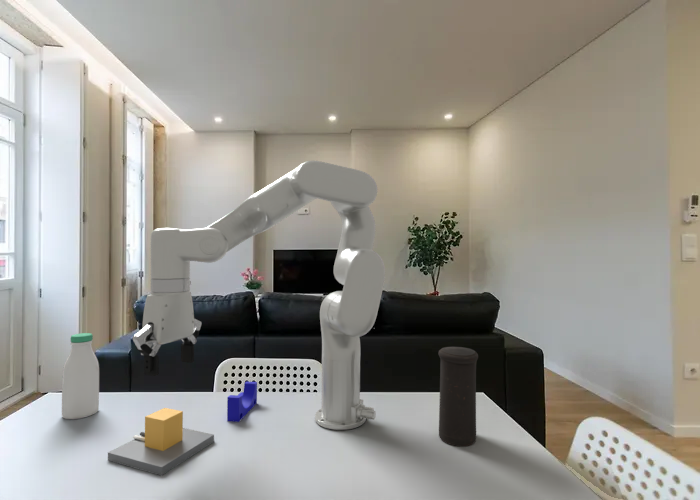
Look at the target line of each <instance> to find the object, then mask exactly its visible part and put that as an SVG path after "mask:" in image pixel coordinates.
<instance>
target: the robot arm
mask: <svg viewBox="0 0 700 500" xmlns="http://www.w3.org/2000/svg"><path fill="white" fill-rule="evenodd" d="M376 182H377V181H376V180H375V179H374V178H373V177H372V175H370V174H369V173H367V172H365V171H363V170H360V169H356V168H355V169H354V168H352V167H351V168H350V167H347V166H342V165H337V164H334V163H330V162H324V161H319V160H307V161H304V162H303V163H301V164H299V165H298V166H297V167H295V168H294V169H293V170H291V171H289V172H288V173H286V174H284V175H283V176H281V177H280V178H278V179H276V180H275V181H274V182H272V183H270V184H268V185H267V186H265V187H263V188H262V189H260V190H259V191H257V192H255V193H253V194H252V195H250V196H249V197H248V198H246V199H245V200H243V202H241V204H240V205H238V206H237V207H235V208H234V209H233V210H232V211H230V212H229V213H227V214H226V215H224V216H222V218H220V219H218V220H217V221H215V222H213V223H211V224H210V225H208V226H207V227H202V228H200V227H199V228H192V229H184V228H178V227H177V228H176V227H175V228H173V227H160V228H155V229H154V230H152V231H151V233H150V294H147V296H146V299H145V303H144V308H143V316H142V327H141V329H140V330H139V331H138V332H136V333H135V334H134V335H133V336H132V341H133V343H134V344H135V346H136V350H138V352H139V353H140V355H141V356H143V374H144V375H145V376H152V377H157V376H158V375H159V373H160V372H159V371H160V369H159V368H160V367H159V366H160V365H159V362H160V361H159V360H160V359H159V357H160V356H159V355H157V353H158V352H159V349H160V348H161V346H162V345H165V344H169V343H173V342H178V341H182V343H181V344H180V361H181V362H182V363H189V364H192V363H195V344H196V343H197V341H198V340H197V338H198V337H199V335H200V330H201V327H202V321H200V320H198V319H196V318H195V314H194V313H195V312H194V302H193V298H192V293H191V291H190V290H191V287H190V286H191V285H192V284H191V283H192V282H191V280H190V279H191V278H190V277H191V276H190V275H191V272H190V271H191V269H190V267H191V264H190V262H198V263H207V264H213V263H216V262H218V261H220V260H222V259H223V258H224V257H225V255H226V254H227V253H228V252H229V251H231V250H233V249H234V248H236V247H238V246H239V245H241V244H242V243H243V242H245V241H247V240H249V239H251V238H252V237H254V236H256V235H258V234H261V233H263V232H265V231H267V230H270V229H271V228H273V227H274V226H275V227H276V225H278V224H279V223H280V222H282V221H284V220H285V219H287V218H288V217H290V216H292V215H293V214H294V213H296V212H298V211H300V210H301V209H302V208H304V207H305V206H306V205H308V204H309V203H311V202H313V201H314V200H317V199H319V200H323V201H326V202H330V204H331V205H332V207H333V208H334V209H335V211H336V212H337V213H338V215H339V217H340V219H341V234H340V238H339V239H340V240H339V244H338V246H337V247H338V248H337V253H336V256H335V260H334V265H333V276H334V279H335V280H336V281H337V282H338V283H339V284H341V285H342V286H343V288H342V290H336V291H333V292H330V293H329V294H327V295H326V296H325V297H324V299H323V300H322V302H321V303H320V304H321V305H320V308H319V309H320V310H319V320H320V322H319V323H320V332H321V399H320V400H321V402H320V403H321V407H320V409H318V410H317V411H316V412H315V414H314V421H315V423H316V424H317V425H319V426H321V427H322V428H325V429H329V430H335V431H336V430H337V431H343V430H345V431H346V430H351V429H355V428H358V427H360V426H362V425H363V424H364V423H365V422H366V421H367V420H366V419H368V420H375V419H376V416H377V412H376V410H375V408H374V407H370V406H366V405H365V404H364V399H360V398H361V394H360V393H361V392H360V391H361V339H360V337H362V336H365V335H366V334H367V333H369V332H370V331H371V329H372V328H373V326H374V325H375V322H376V319H377V316H378V311H379V308H380V304H381V299H382V293H383V288H384V285H385V281H386V267H385V263H384V260H383V258H382V257H381V255H380V254H379V253H378V252H376V251H374V250H373V249H374V243H375V238H376V237H375V236H376V231H377V230H376V221H375V217H374V214H373V212H372V210H371V208H370V206H371V204H373V203H374V201H376V198H377V196H378V185H377V183H376Z"/></svg>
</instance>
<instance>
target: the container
mask: <svg viewBox="0 0 700 500" xmlns="http://www.w3.org/2000/svg"><path fill="white" fill-rule="evenodd" d="M438 356H439V358H440V362H439V363H440V364H439V365H440V368H439V369H440V373H439V375H440V376H439V377H440V378H439V410H438V411H439V415H438V417H439V418H438V437H439V439H440V440H441V441H442V442H444V443H446V444H449V445H451V446H457V447H467V446H472V445H474V444H475V442H477V361H478V359H479V354H478V353H477V351H476V350H474V349H472V348H469V347H462V346H445V347H442V348H441V349H439V350H438Z"/></svg>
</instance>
